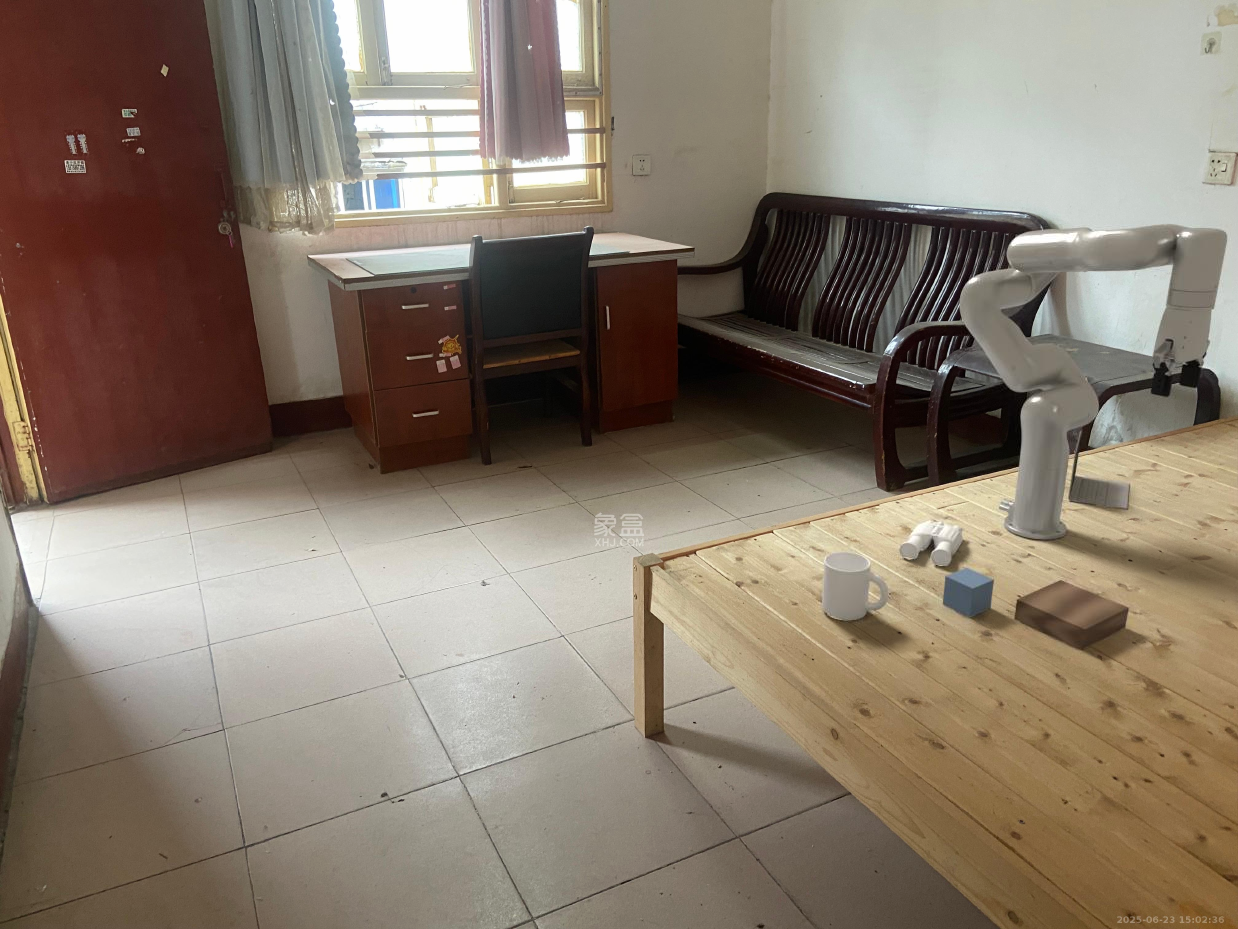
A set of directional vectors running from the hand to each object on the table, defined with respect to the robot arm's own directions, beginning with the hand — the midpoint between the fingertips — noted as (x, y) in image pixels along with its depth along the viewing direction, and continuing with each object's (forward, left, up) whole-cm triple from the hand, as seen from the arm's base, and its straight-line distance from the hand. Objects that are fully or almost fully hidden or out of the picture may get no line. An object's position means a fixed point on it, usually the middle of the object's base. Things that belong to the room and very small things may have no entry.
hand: (1174, 390), depth 169 cm
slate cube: (-10, -41, -37) cm, 56 cm away
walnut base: (+5, -31, -37) cm, 49 cm away
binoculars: (-30, -26, -37) cm, 54 cm away
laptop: (-28, +31, -37) cm, 56 cm away
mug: (-20, -60, -37) cm, 73 cm away
